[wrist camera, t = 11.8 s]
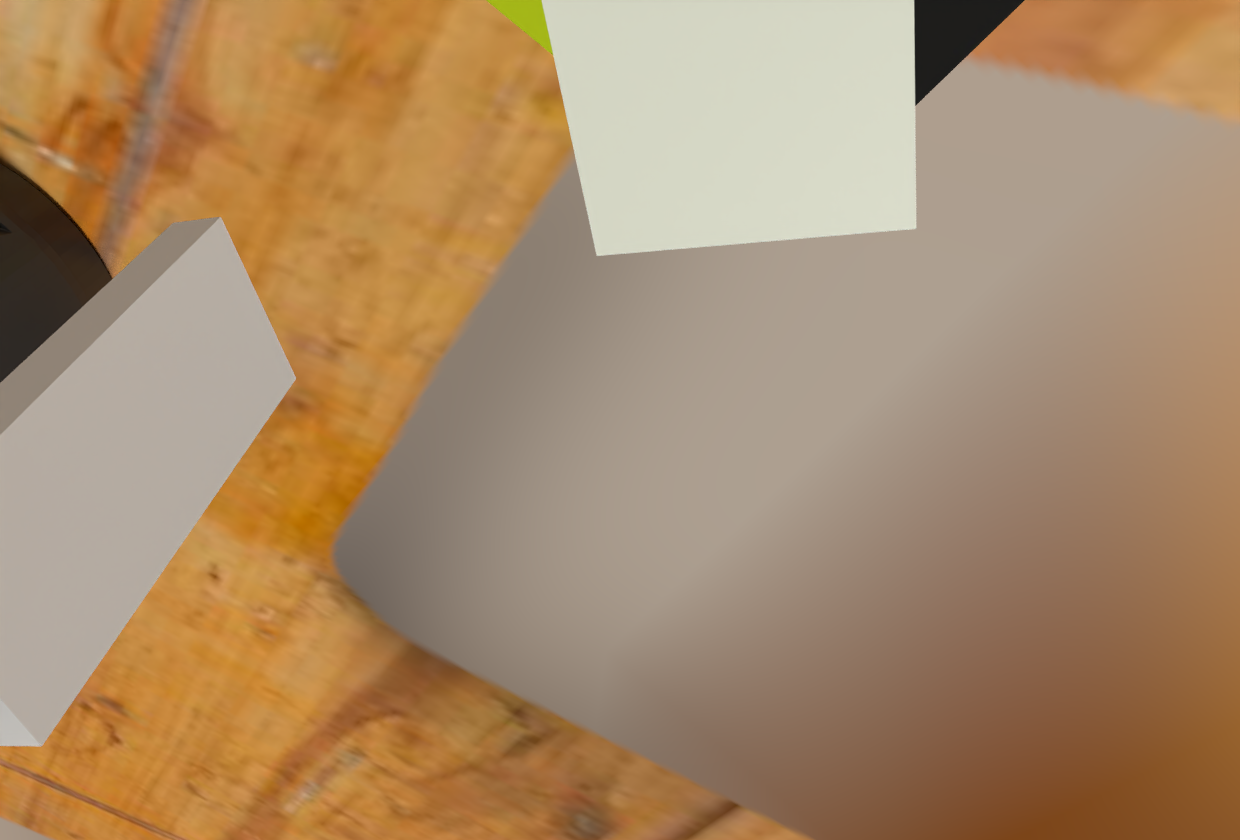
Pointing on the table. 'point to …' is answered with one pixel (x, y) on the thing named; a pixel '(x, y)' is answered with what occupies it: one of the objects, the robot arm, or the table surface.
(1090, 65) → the table surface
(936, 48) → the puzzle toy
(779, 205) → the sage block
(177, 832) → the table surface
